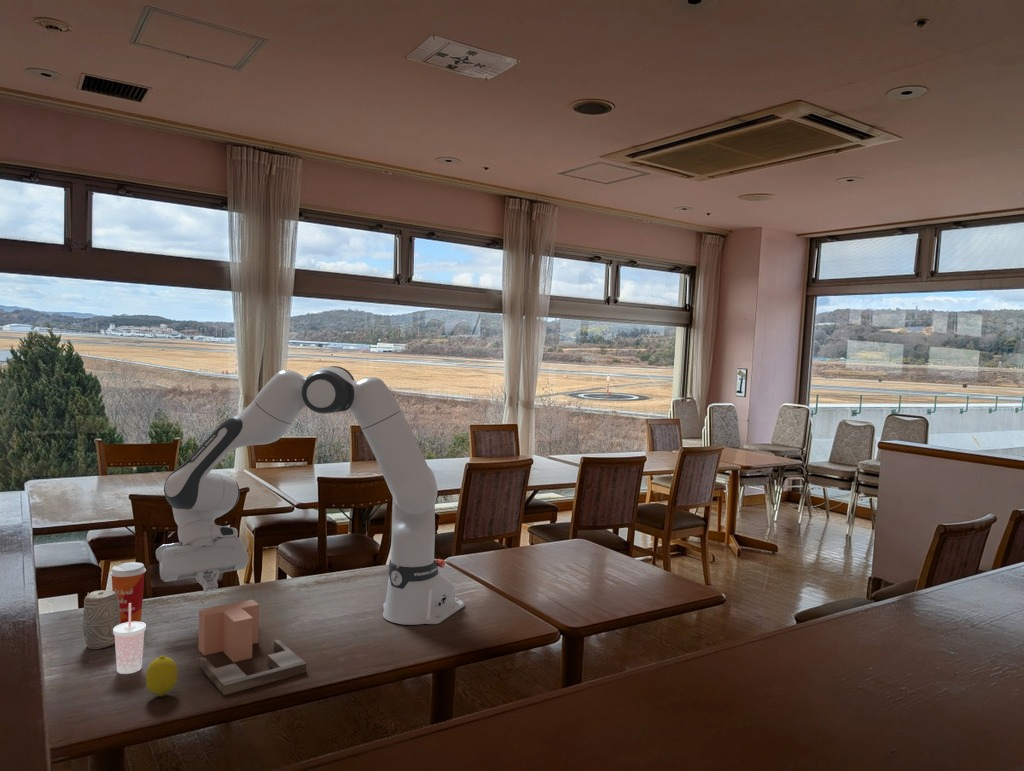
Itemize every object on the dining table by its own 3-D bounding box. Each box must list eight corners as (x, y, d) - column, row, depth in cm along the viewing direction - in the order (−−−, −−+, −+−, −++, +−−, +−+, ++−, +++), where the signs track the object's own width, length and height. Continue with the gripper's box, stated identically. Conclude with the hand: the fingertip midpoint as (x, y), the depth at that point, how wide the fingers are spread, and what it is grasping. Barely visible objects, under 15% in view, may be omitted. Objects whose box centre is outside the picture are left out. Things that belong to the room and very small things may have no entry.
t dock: (200, 667, 153) (200, 658, 153) (278, 648, 164) (278, 639, 164) (224, 695, 142) (224, 685, 142) (306, 672, 153) (306, 663, 153)
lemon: (152, 689, 143) (153, 649, 143) (181, 689, 144) (182, 649, 143) (140, 703, 138) (141, 662, 137) (170, 702, 138) (171, 662, 138)
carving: (77, 646, 161) (77, 593, 161) (112, 636, 167) (112, 585, 167) (89, 654, 157) (90, 600, 157) (125, 644, 163) (125, 592, 163)
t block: (198, 649, 162) (198, 610, 162) (251, 636, 170) (252, 599, 169) (214, 667, 154) (215, 625, 153) (269, 653, 161) (270, 613, 161)
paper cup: (102, 626, 173) (102, 568, 172) (129, 615, 180) (129, 559, 179) (126, 631, 170) (127, 573, 169) (153, 620, 177) (153, 564, 177)
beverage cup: (147, 671, 151) (148, 605, 150) (114, 678, 147) (114, 610, 147) (144, 660, 156) (144, 596, 155) (111, 666, 152) (112, 601, 152)
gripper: (156, 539, 172) (167, 591, 165) (243, 527, 185) (256, 575, 178) (151, 552, 176) (162, 604, 169) (236, 540, 189) (249, 588, 182)
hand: (211, 589), depth 174 cm, fingers closed
